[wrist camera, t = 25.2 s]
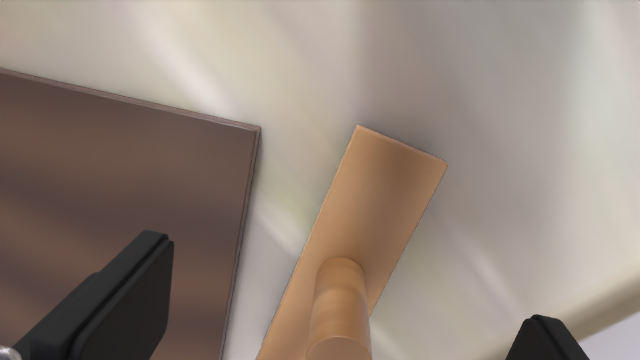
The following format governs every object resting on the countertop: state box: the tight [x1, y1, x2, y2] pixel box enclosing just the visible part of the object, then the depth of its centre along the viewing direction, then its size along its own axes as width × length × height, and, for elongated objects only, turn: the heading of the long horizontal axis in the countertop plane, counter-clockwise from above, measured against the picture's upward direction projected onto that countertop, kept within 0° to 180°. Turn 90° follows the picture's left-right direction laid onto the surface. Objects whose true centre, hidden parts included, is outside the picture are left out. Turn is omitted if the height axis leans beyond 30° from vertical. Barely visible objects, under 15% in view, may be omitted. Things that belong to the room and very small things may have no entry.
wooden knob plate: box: [256, 125, 448, 360], centre depth 18 cm, size 4×14×8 cm, turn 158°
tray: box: [0, 69, 261, 360], centre depth 23 cm, size 23×17×1 cm
